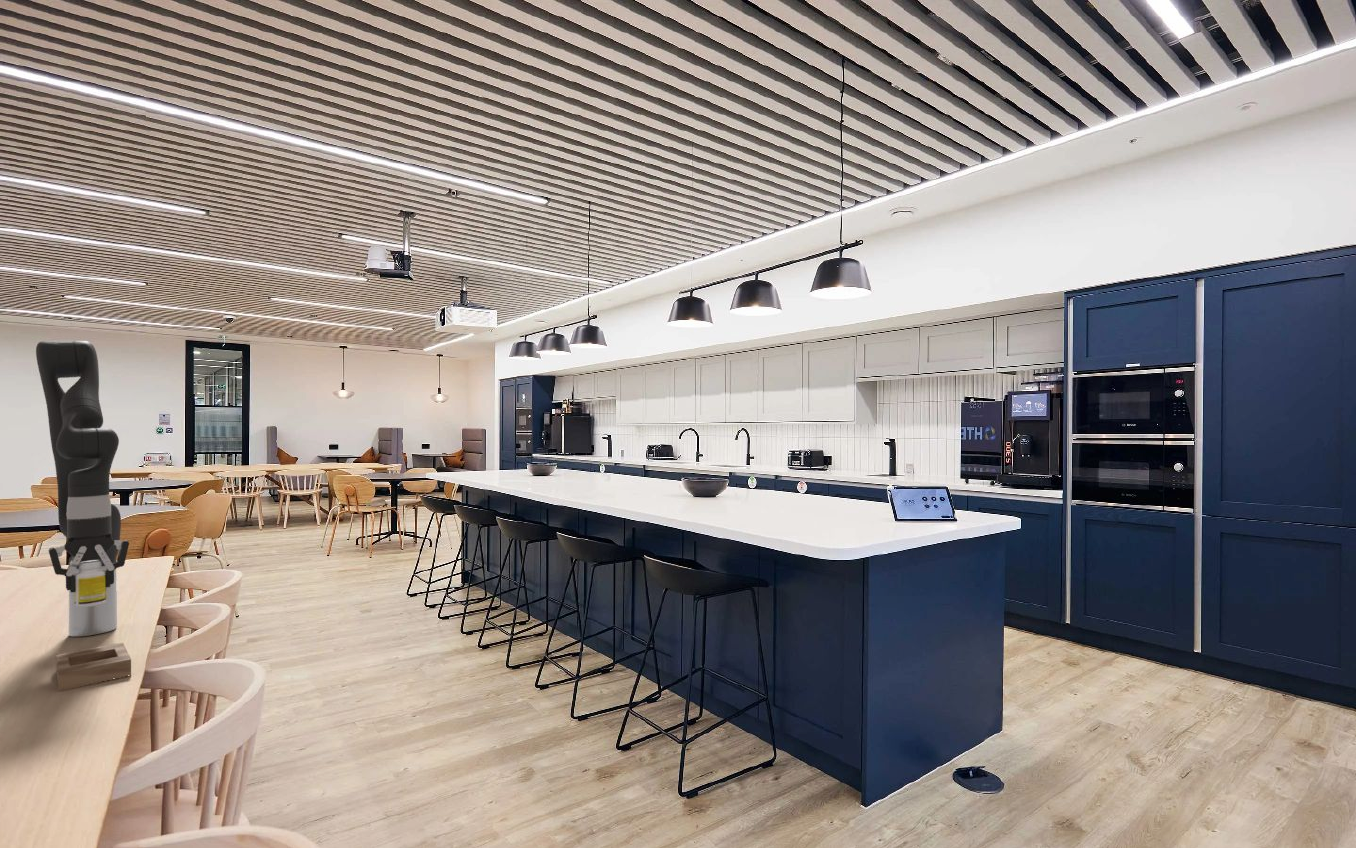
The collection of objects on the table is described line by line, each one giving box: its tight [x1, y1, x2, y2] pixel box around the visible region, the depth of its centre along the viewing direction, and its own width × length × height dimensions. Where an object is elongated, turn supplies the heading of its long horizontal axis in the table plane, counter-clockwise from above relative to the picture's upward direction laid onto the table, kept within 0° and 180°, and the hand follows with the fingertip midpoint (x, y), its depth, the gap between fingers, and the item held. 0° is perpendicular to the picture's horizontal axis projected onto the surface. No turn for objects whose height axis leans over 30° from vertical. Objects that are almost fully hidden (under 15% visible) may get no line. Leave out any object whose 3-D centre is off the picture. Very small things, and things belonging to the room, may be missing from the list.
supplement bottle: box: [74, 560, 106, 607], centre depth 148 cm, size 5×5×10 cm
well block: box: [55, 642, 132, 692], centre depth 138 cm, size 16×11×4 cm
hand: (90, 589), depth 148 cm, fingers closed on supplement bottle, 5 cm apart
